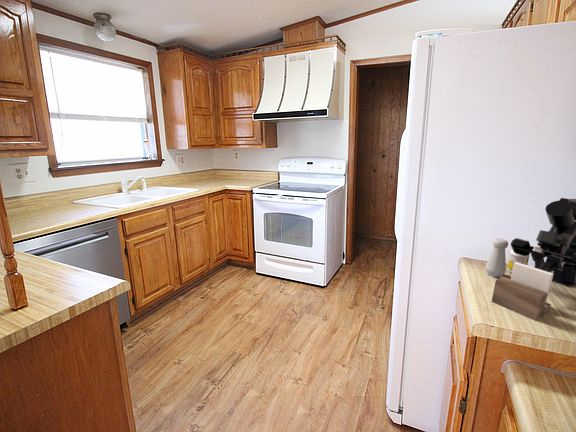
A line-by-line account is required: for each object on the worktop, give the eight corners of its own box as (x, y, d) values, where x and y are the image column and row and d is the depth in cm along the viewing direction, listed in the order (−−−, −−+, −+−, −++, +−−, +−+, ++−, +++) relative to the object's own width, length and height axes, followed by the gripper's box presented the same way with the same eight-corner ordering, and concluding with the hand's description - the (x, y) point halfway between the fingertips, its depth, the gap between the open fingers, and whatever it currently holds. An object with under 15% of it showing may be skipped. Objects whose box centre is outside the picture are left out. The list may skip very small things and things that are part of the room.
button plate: (512, 285, 95) (517, 261, 92) (548, 298, 87) (555, 272, 85) (508, 287, 93) (513, 263, 91) (544, 301, 86) (551, 275, 84)
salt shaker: (507, 279, 104) (515, 243, 101) (488, 278, 105) (495, 242, 102) (499, 272, 110) (506, 237, 106) (481, 270, 111) (488, 236, 107)
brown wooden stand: (505, 293, 96) (510, 272, 94) (549, 310, 87) (555, 288, 85) (491, 301, 92) (495, 280, 90) (535, 320, 83) (541, 297, 81)
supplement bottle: (517, 267, 113) (522, 242, 110) (529, 274, 108) (535, 248, 105) (503, 268, 113) (508, 242, 110) (514, 274, 108) (520, 248, 105)
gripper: (519, 213, 97) (494, 253, 94) (600, 229, 81) (573, 278, 79) (526, 232, 103) (502, 271, 100) (602, 251, 88) (577, 297, 85)
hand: (535, 278), depth 91 cm, fingers closed
